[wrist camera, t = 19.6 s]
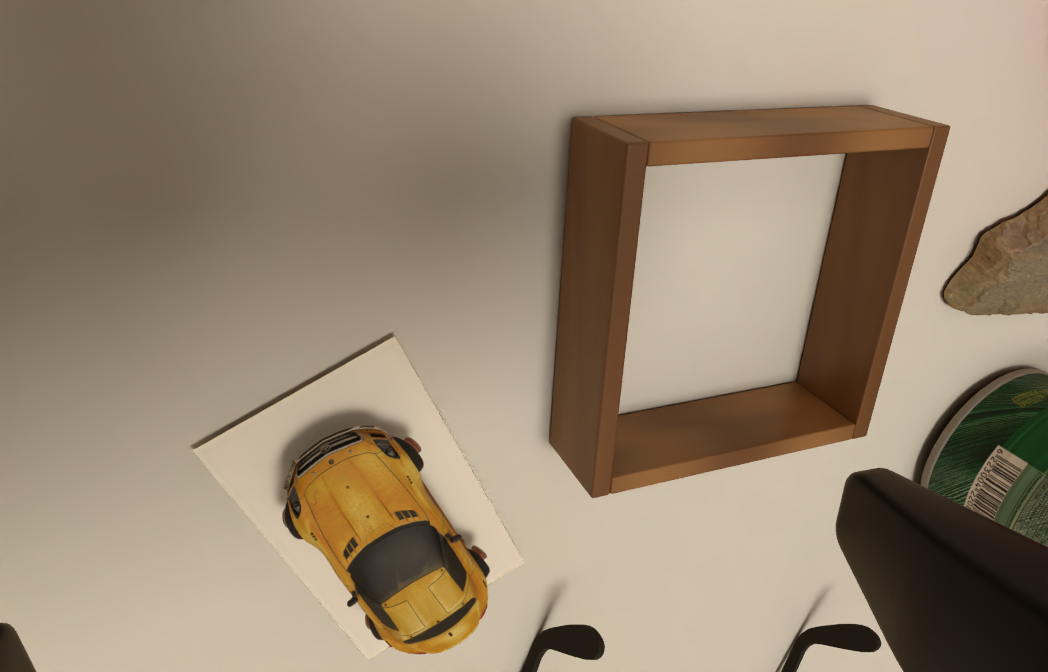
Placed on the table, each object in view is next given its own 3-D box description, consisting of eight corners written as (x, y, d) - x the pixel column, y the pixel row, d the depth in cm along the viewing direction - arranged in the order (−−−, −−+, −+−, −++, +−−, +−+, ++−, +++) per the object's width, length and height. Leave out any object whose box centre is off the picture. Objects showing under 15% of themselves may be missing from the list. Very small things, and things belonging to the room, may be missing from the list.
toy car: (386, 390, 22) (410, 435, 20) (501, 577, 27) (528, 629, 25) (248, 469, 21) (258, 524, 20) (389, 646, 26) (410, 705, 24)
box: (548, 443, 26) (591, 499, 23) (571, 116, 21) (627, 143, 19) (806, 392, 30) (866, 436, 27) (872, 104, 25) (951, 125, 23)
